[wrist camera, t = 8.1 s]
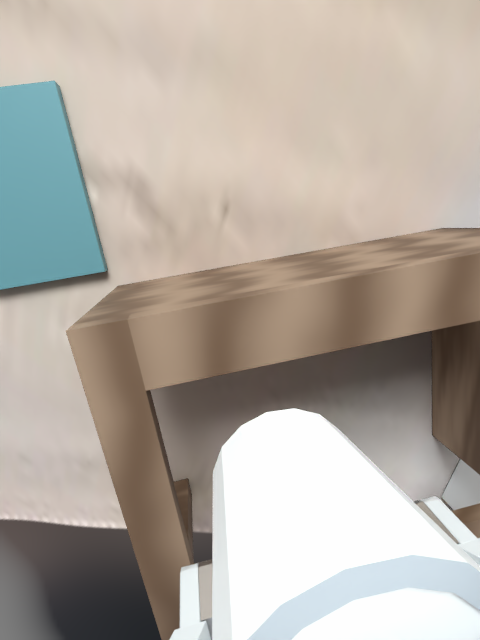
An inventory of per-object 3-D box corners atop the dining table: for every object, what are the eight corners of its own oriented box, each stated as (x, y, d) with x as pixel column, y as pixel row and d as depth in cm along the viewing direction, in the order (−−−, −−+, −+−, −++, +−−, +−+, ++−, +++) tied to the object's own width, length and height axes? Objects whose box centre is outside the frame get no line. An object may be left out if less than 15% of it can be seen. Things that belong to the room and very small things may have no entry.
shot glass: (223, 565, 15) (259, 847, 8) (172, 427, 13) (163, 646, 6) (374, 509, 15) (527, 729, 9) (348, 370, 13) (516, 511, 7)
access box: (442, 228, 34) (611, 228, 20) (441, 432, 40) (571, 535, 27) (117, 286, 31) (65, 330, 17) (172, 498, 37) (165, 652, 23)
